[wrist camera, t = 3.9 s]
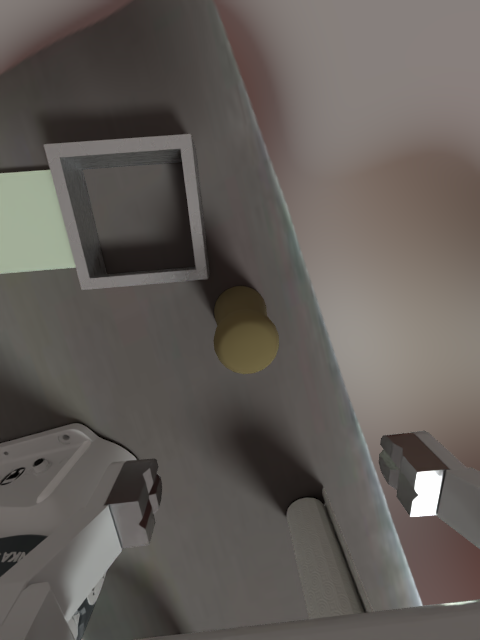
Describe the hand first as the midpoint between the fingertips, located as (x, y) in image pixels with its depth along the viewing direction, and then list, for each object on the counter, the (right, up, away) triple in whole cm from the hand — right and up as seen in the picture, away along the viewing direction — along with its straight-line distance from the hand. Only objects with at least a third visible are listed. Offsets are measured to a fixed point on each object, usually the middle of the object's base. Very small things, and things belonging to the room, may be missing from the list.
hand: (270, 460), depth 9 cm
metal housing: (-11, +15, +17) cm, 25 cm away
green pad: (-22, +15, +16) cm, 31 cm away
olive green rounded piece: (-1, +6, +20) cm, 21 cm away
